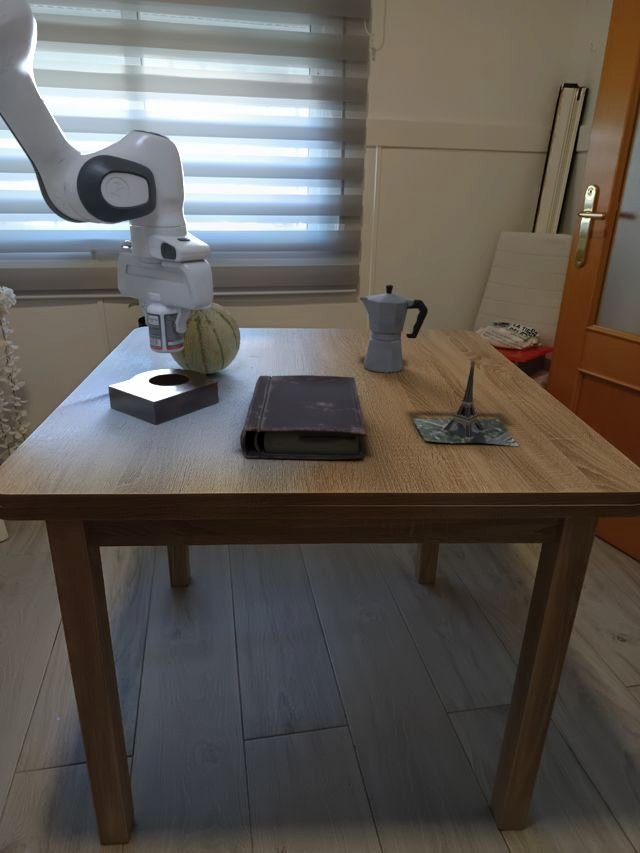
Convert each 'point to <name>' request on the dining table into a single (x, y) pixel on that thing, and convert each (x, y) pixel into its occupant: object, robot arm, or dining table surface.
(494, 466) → the dining table surface
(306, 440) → the diary
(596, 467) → the dining table surface
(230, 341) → the cantaloupe
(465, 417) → the eiffel tower figurine
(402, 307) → the coffeepot
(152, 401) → the dark holder block
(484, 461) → the dining table surface
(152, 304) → the pill bottle
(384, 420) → the dining table surface
